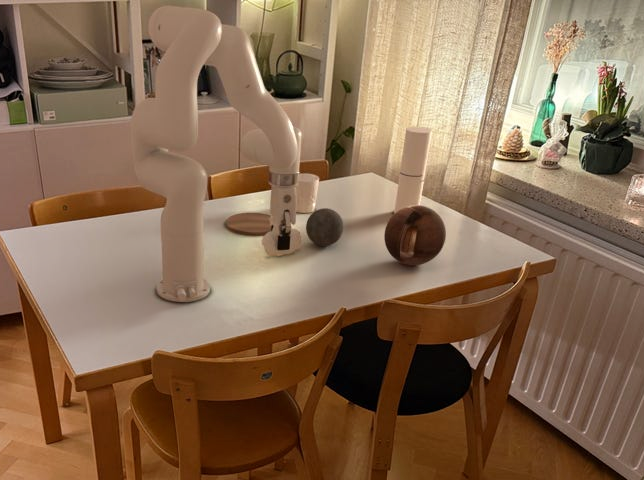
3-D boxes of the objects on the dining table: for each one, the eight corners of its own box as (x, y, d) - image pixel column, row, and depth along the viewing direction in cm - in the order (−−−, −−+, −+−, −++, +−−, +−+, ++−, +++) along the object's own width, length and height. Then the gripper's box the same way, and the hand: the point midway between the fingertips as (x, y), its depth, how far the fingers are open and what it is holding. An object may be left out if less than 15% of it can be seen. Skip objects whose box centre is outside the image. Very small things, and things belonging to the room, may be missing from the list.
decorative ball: (348, 248, 188) (352, 212, 183) (317, 254, 184) (321, 218, 179) (327, 235, 196) (331, 201, 191) (297, 241, 192) (300, 206, 187)
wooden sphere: (403, 247, 189) (411, 193, 181) (451, 263, 180) (462, 208, 172) (369, 261, 181) (376, 205, 173) (418, 280, 171) (428, 222, 163)
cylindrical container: (389, 211, 213) (401, 128, 200) (408, 208, 216) (421, 125, 202) (403, 219, 207) (416, 133, 194) (423, 216, 210) (437, 131, 197)
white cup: (286, 206, 216) (288, 174, 211) (310, 204, 218) (312, 172, 213) (296, 215, 210) (298, 182, 204) (320, 212, 212) (323, 180, 206)
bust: (297, 254, 190) (284, 215, 190) (311, 246, 183) (298, 205, 183) (259, 263, 185) (247, 223, 185) (272, 255, 178) (259, 213, 178)
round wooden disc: (286, 234, 197) (286, 230, 196) (230, 237, 194) (230, 233, 194) (274, 214, 210) (274, 211, 209) (221, 217, 208) (221, 213, 207)
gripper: (307, 187, 168) (302, 256, 178) (289, 167, 183) (285, 231, 192) (276, 189, 167) (273, 257, 177) (261, 168, 182) (259, 232, 191)
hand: (279, 243), depth 184 cm, fingers closed on bust, 7 cm apart
